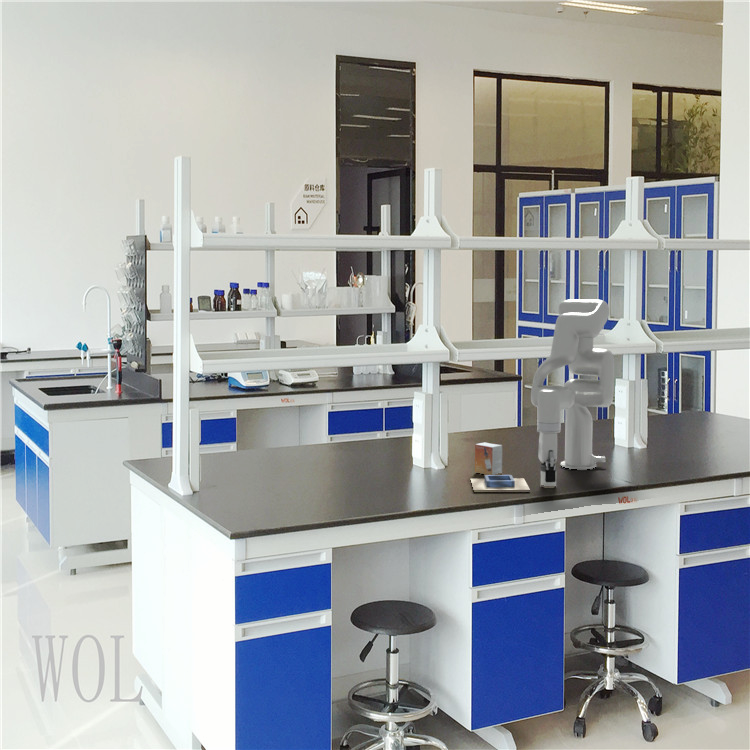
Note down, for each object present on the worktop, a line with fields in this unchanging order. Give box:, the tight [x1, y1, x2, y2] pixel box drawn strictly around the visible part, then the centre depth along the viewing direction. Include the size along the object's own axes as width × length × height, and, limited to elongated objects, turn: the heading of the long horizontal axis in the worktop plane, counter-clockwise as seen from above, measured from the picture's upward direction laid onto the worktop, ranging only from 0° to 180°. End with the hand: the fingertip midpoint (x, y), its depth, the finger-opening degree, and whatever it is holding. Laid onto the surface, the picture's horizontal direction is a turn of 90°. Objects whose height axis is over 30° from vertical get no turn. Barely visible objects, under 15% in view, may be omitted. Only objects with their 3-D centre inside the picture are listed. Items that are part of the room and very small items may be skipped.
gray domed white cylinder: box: [540, 464, 557, 487], centre depth 323 cm, size 5×5×7 cm
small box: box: [474, 441, 503, 475], centre depth 342 cm, size 8×6×10 cm
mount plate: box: [469, 474, 531, 491], centre depth 324 cm, size 18×16×3 cm
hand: (548, 478), depth 323 cm, fingers open, 9 cm apart
